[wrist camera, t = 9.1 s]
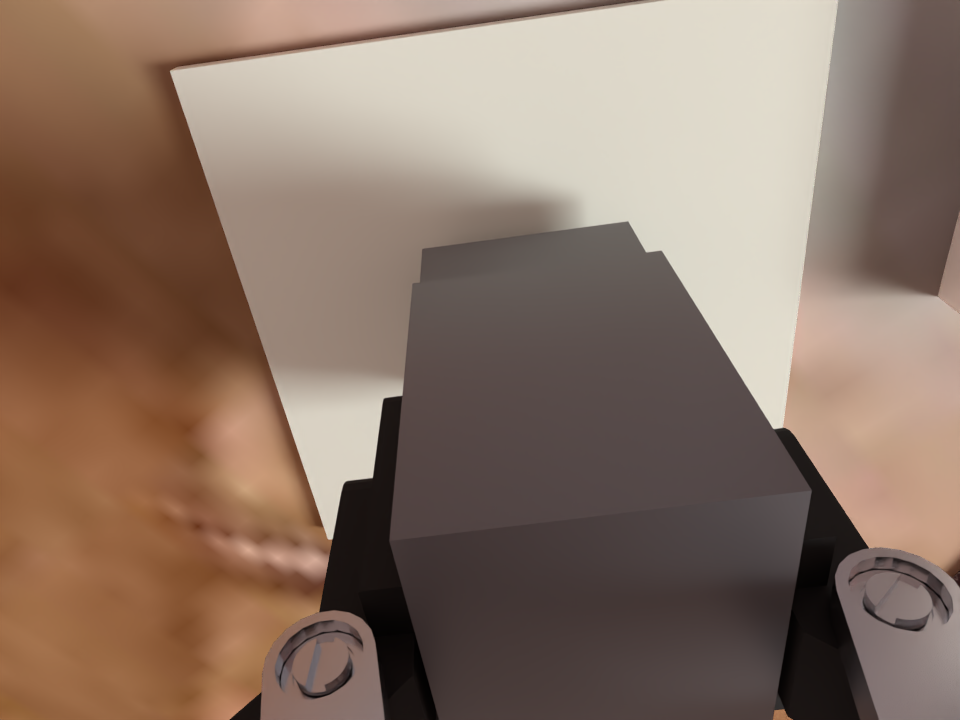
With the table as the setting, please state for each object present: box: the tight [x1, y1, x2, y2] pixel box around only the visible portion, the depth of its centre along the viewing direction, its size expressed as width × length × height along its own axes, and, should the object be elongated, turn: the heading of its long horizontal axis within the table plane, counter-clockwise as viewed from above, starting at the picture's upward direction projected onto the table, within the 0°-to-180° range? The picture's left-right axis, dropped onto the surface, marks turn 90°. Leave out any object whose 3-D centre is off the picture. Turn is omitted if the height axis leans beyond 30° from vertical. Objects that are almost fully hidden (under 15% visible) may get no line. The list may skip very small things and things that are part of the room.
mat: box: [170, 0, 838, 540], centre depth 16 cm, size 12×12×1 cm
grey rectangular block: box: [389, 221, 812, 720], centre depth 11 cm, size 5×4×8 cm
